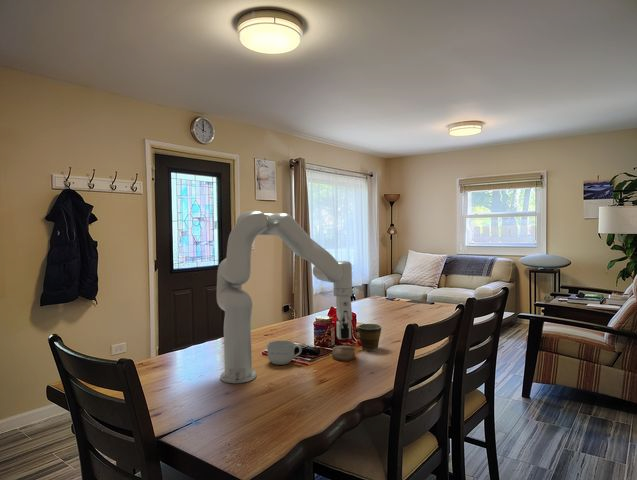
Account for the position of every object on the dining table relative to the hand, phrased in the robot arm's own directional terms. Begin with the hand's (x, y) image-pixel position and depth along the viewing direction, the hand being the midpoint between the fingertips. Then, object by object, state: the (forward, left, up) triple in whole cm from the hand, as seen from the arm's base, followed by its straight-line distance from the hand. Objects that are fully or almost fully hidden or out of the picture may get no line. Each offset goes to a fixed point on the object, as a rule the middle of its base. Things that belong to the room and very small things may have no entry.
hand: (343, 336), depth 171 cm
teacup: (-3, +24, -9) cm, 26 cm away
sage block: (0, 0, -1) cm, 1 cm away
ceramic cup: (+9, -12, -9) cm, 17 cm away
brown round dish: (0, 0, -9) cm, 9 cm away
